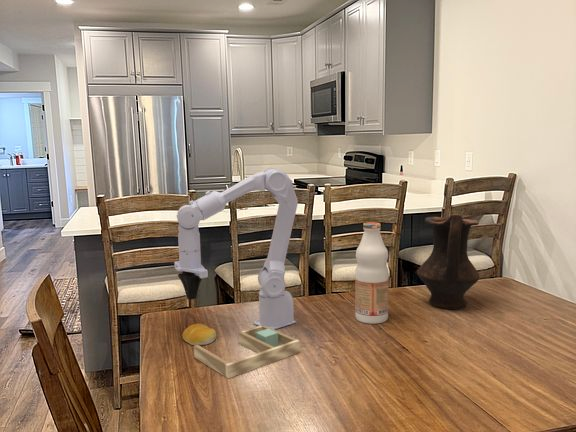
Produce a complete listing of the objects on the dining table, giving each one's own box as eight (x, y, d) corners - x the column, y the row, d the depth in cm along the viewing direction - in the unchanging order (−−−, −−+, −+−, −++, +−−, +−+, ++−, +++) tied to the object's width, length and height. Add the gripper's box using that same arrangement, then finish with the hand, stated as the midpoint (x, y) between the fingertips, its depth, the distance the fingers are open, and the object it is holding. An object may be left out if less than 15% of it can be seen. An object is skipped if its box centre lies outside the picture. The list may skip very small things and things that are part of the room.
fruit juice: (354, 323, 148) (354, 226, 143) (356, 312, 157) (356, 220, 153) (388, 325, 146) (389, 226, 142) (388, 314, 155) (388, 220, 151)
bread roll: (196, 349, 133) (195, 334, 132) (178, 339, 139) (177, 325, 139) (223, 340, 138) (222, 326, 137) (205, 331, 145) (204, 317, 144)
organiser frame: (263, 335, 140) (263, 324, 140) (299, 352, 129) (299, 340, 128) (194, 357, 127) (193, 345, 127) (228, 378, 116) (227, 365, 115)
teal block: (268, 343, 135) (268, 328, 135) (278, 347, 132) (278, 332, 131) (256, 347, 133) (255, 332, 132) (265, 352, 130) (265, 336, 129)
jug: (413, 294, 173) (415, 205, 169) (471, 295, 171) (474, 204, 166) (420, 316, 153) (422, 214, 148) (486, 317, 150) (490, 214, 145)
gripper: (163, 247, 143) (166, 295, 145) (190, 256, 132) (192, 308, 134) (186, 244, 148) (188, 290, 150) (213, 252, 137) (215, 302, 139)
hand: (191, 298), depth 142 cm, fingers closed
